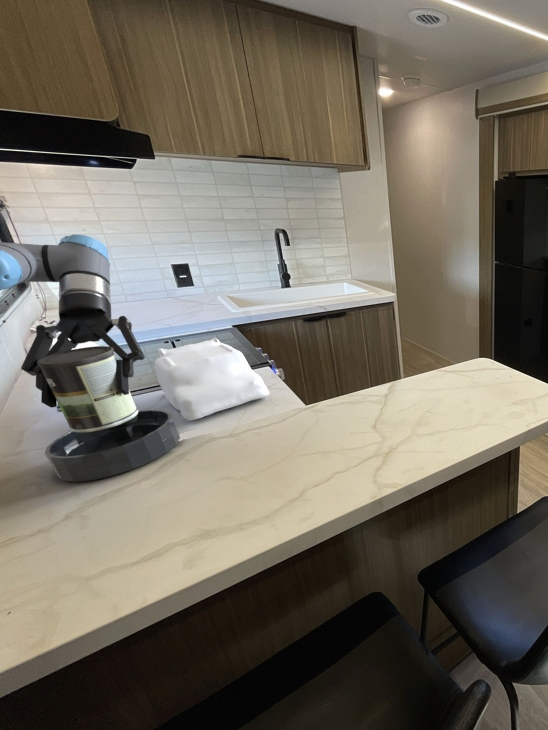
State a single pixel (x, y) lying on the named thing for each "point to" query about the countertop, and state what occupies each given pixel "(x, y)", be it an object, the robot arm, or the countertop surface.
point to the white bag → (207, 378)
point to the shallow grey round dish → (113, 447)
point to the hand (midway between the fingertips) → (87, 398)
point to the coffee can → (88, 388)
